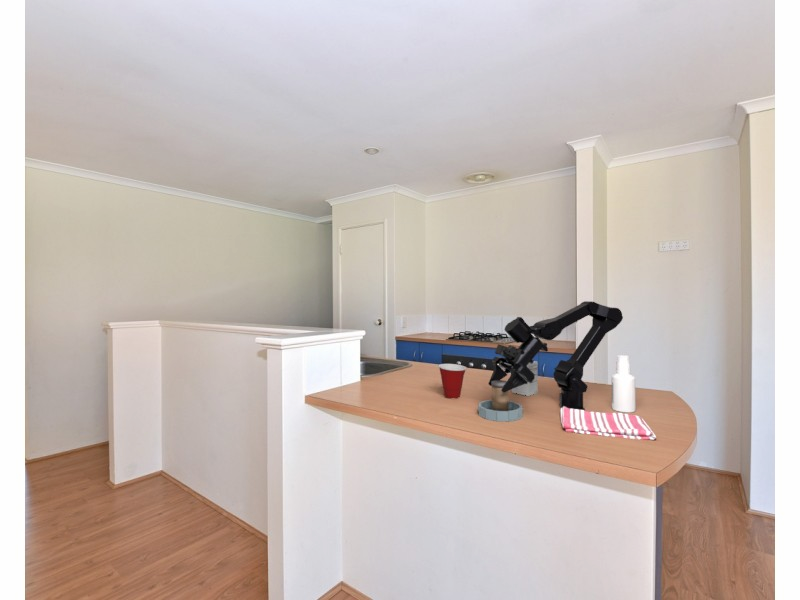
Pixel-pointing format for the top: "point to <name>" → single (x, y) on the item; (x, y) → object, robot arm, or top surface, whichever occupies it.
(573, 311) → the robot arm
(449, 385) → the plastic cup
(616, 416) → the dish towel
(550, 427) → the top surface
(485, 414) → the bowl
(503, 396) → the walnut jar
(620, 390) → the spray bottle
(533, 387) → the supplement box
